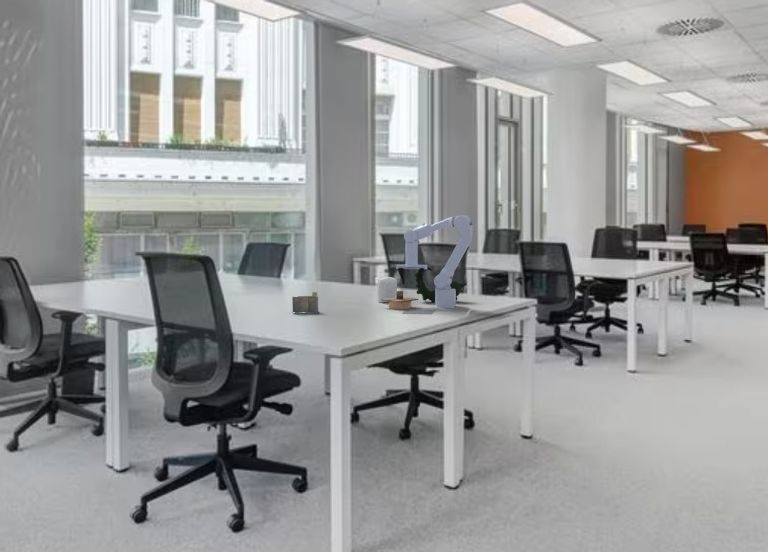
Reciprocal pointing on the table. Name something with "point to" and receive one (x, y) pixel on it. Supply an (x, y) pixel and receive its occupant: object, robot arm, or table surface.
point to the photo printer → (386, 288)
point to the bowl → (400, 305)
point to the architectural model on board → (305, 303)
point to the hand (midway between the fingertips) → (411, 284)
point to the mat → (418, 311)
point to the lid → (399, 298)
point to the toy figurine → (431, 292)
